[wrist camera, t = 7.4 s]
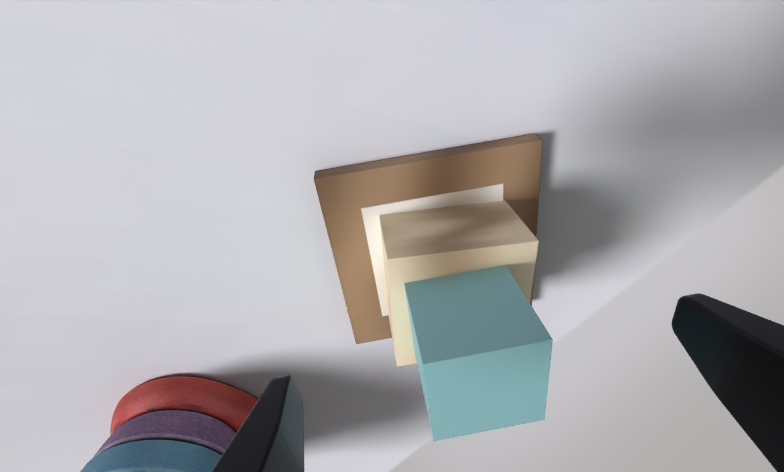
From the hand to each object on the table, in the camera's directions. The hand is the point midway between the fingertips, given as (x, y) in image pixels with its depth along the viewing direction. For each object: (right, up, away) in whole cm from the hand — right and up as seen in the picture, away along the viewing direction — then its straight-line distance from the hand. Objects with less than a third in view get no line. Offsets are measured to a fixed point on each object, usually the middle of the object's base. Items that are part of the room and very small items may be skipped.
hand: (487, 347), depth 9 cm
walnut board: (0, +2, +13) cm, 14 cm away
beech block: (+1, +1, +13) cm, 13 cm away
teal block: (+1, -1, +9) cm, 10 cm away
